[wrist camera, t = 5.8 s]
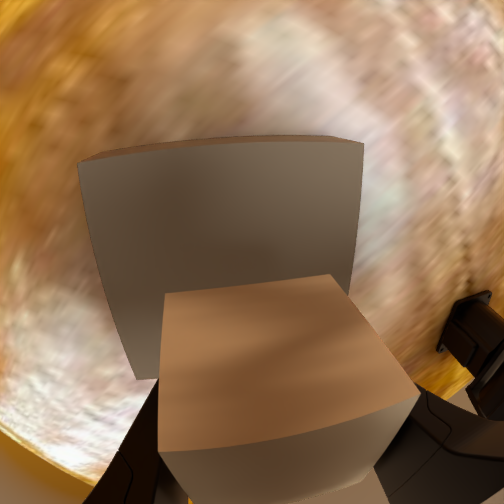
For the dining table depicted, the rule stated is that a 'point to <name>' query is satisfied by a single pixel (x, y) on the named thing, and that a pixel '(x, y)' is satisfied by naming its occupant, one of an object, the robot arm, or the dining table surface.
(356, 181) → the gray block
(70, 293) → the dining table surface
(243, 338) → the cream cube
